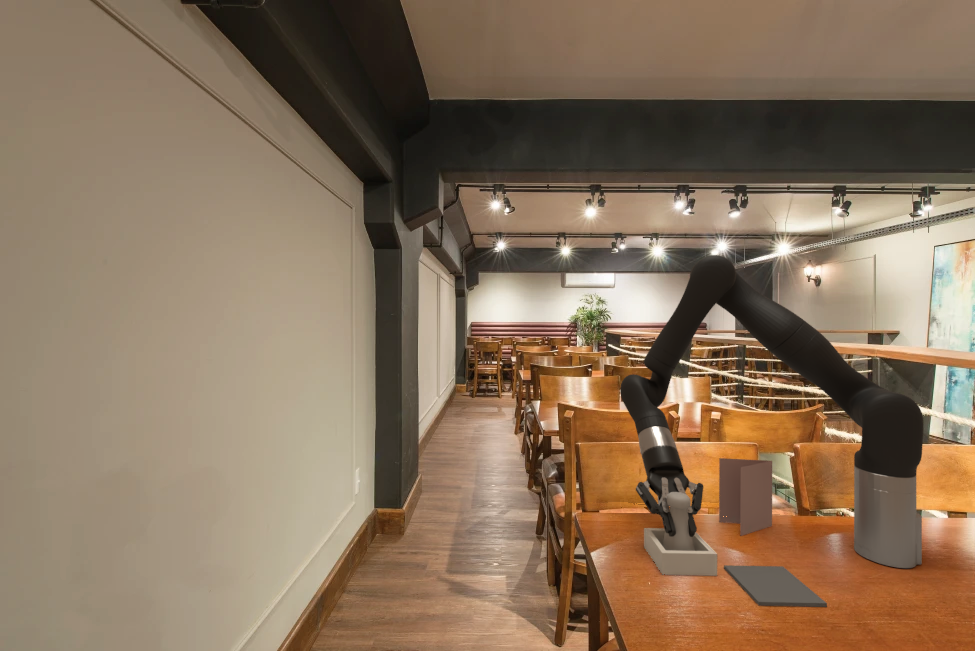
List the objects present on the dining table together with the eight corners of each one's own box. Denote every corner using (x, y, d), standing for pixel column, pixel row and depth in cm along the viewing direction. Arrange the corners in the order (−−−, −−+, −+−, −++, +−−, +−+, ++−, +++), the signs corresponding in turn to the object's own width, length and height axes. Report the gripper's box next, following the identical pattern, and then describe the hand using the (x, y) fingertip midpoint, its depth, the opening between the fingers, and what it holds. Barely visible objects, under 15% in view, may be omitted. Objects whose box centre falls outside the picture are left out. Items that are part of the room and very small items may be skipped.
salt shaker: (688, 554, 88) (689, 489, 88) (699, 569, 82) (699, 500, 82) (658, 552, 88) (659, 488, 88) (667, 567, 83) (667, 499, 83)
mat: (782, 569, 82) (782, 566, 82) (826, 606, 71) (826, 603, 71) (723, 568, 83) (723, 565, 83) (758, 605, 72) (758, 601, 72)
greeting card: (770, 524, 102) (770, 459, 102) (787, 539, 94) (787, 469, 94) (717, 520, 103) (718, 457, 103) (730, 535, 96) (730, 467, 96)
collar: (692, 548, 90) (692, 528, 90) (717, 575, 80) (717, 553, 80) (643, 547, 90) (644, 528, 90) (662, 574, 80) (662, 552, 80)
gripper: (630, 443, 93) (650, 527, 81) (697, 444, 93) (727, 528, 80) (623, 460, 98) (640, 541, 86) (686, 461, 98) (712, 543, 86)
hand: (682, 534), depth 83 cm, fingers closed on salt shaker, 3 cm apart
